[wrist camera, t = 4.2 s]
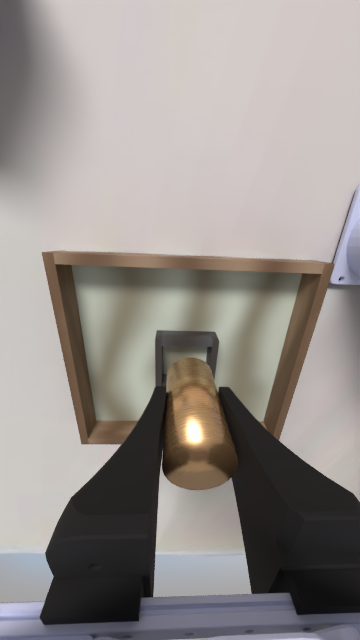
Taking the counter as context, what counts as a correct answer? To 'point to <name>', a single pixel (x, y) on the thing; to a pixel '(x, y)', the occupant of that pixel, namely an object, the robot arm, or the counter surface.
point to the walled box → (180, 329)
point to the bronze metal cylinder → (195, 429)
